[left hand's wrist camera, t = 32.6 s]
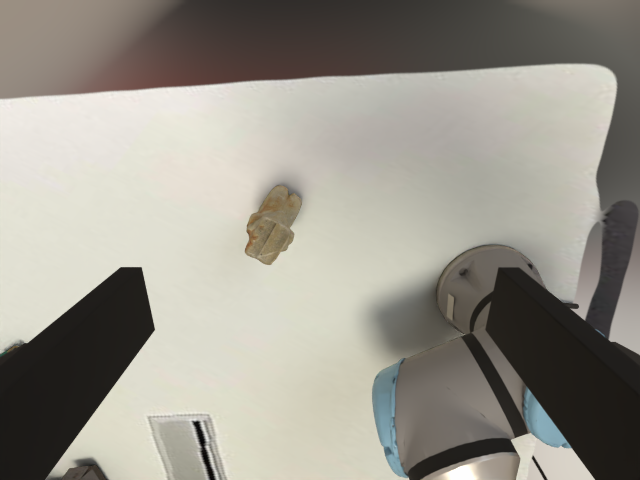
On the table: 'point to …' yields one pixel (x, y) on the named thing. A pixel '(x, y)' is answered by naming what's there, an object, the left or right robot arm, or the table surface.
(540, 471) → the right robot arm
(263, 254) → the sculpture
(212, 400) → the table surface
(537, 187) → the table surface
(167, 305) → the table surface
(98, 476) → the toy
